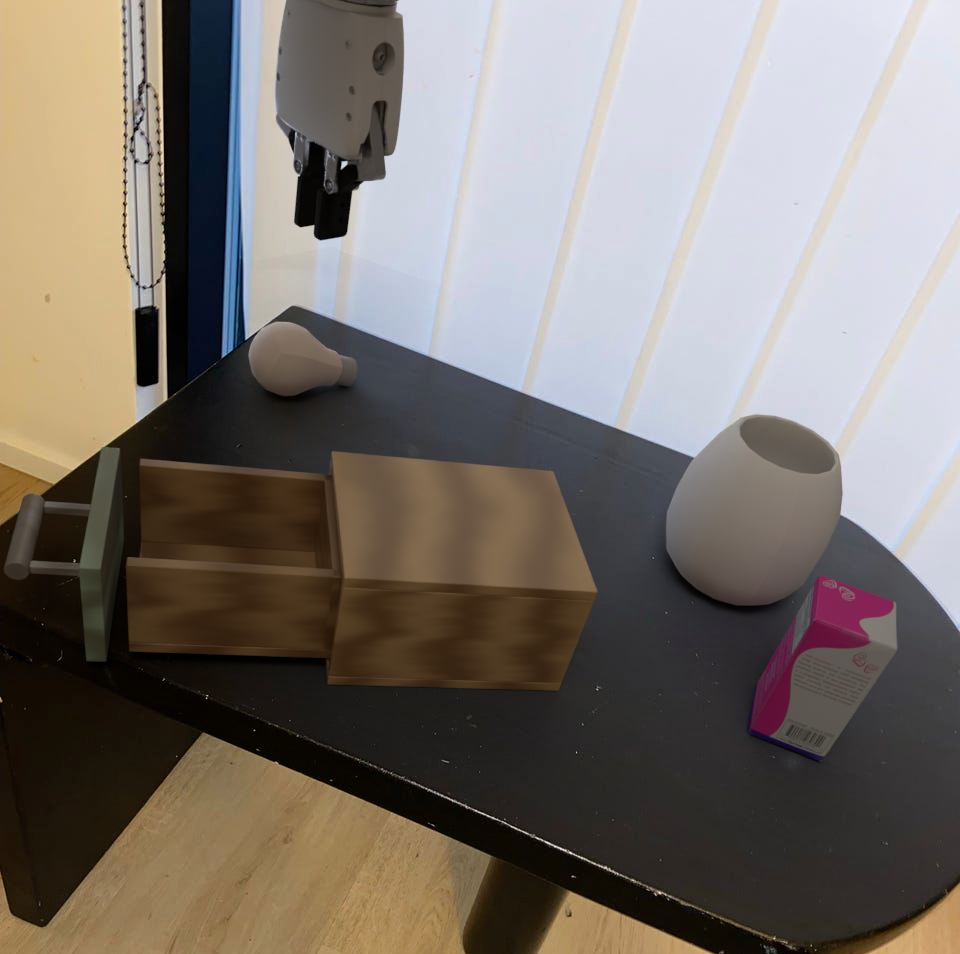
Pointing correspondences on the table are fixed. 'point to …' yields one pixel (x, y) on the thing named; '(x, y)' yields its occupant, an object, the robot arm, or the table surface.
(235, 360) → the table surface
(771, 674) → the supplement box
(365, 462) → the cabinet
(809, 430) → the cup
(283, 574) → the drawer
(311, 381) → the light bulb
